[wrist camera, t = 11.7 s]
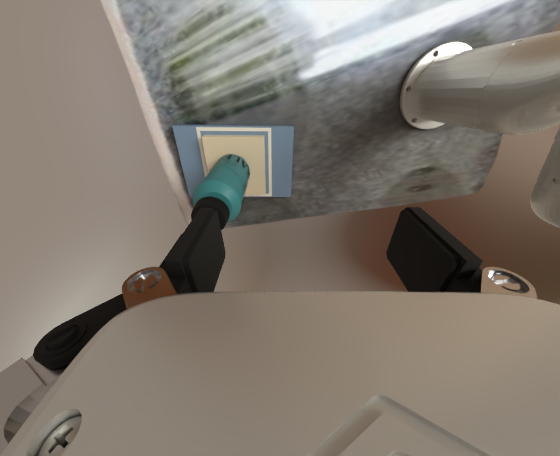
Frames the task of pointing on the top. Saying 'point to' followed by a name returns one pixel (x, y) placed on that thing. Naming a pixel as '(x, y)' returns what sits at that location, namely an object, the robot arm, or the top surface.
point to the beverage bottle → (223, 188)
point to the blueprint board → (277, 156)
